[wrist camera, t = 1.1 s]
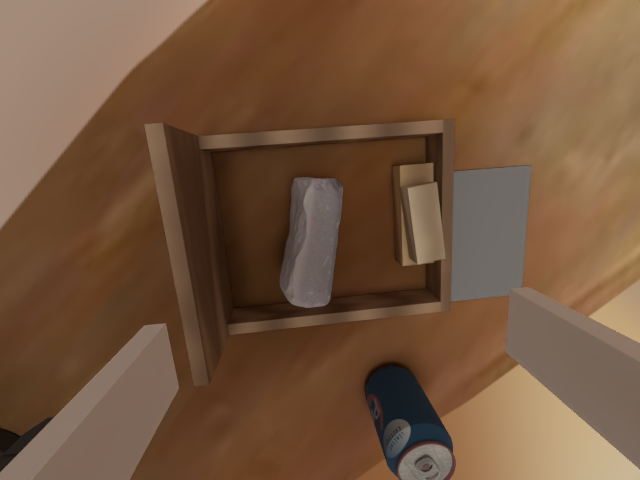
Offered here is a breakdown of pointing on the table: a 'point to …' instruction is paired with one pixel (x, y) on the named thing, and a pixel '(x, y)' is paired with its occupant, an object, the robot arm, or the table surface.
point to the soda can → (408, 427)
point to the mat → (489, 231)
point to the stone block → (311, 241)
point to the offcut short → (422, 222)
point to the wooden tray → (209, 247)
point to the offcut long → (400, 178)
